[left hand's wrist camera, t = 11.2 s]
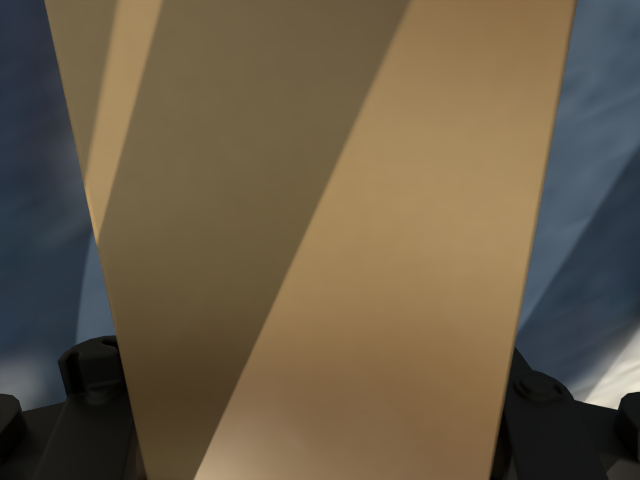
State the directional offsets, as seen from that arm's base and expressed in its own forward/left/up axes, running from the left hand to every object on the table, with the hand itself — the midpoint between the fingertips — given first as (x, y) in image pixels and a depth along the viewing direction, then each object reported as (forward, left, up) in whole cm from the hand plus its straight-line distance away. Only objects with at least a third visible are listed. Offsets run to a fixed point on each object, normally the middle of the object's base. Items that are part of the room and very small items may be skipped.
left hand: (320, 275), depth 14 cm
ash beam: (+7, +12, 0) cm, 14 cm away
